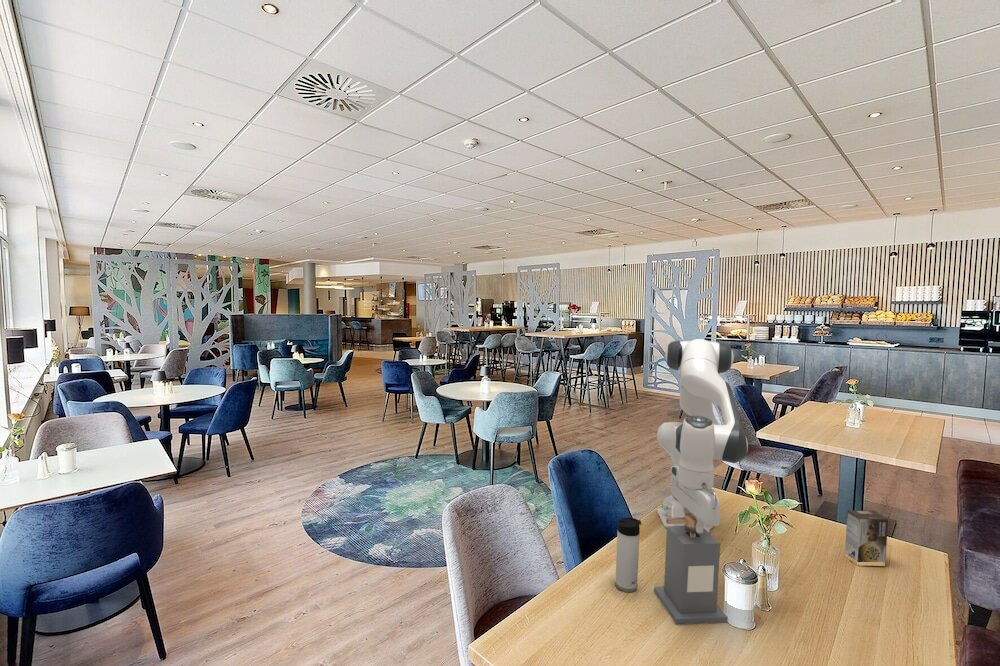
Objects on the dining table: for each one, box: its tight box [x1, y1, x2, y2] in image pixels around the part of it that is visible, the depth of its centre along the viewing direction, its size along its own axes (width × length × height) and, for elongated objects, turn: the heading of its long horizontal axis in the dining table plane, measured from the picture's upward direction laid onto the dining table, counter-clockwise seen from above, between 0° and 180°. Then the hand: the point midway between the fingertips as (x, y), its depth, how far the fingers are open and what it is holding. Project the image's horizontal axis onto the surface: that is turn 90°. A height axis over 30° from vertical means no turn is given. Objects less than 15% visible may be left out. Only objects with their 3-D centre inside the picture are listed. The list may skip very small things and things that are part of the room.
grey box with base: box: [653, 526, 729, 625], centre depth 129 cm, size 14×14×20 cm
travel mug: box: [614, 517, 642, 593], centre depth 138 cm, size 6×7×20 cm
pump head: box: [666, 513, 698, 537], centre depth 129 cm, size 4×10×20 cm, turn 95°
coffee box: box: [844, 509, 889, 563], centre depth 155 cm, size 9×6×16 cm
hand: (693, 526), depth 129 cm, fingers closed on pump head, 4 cm apart
